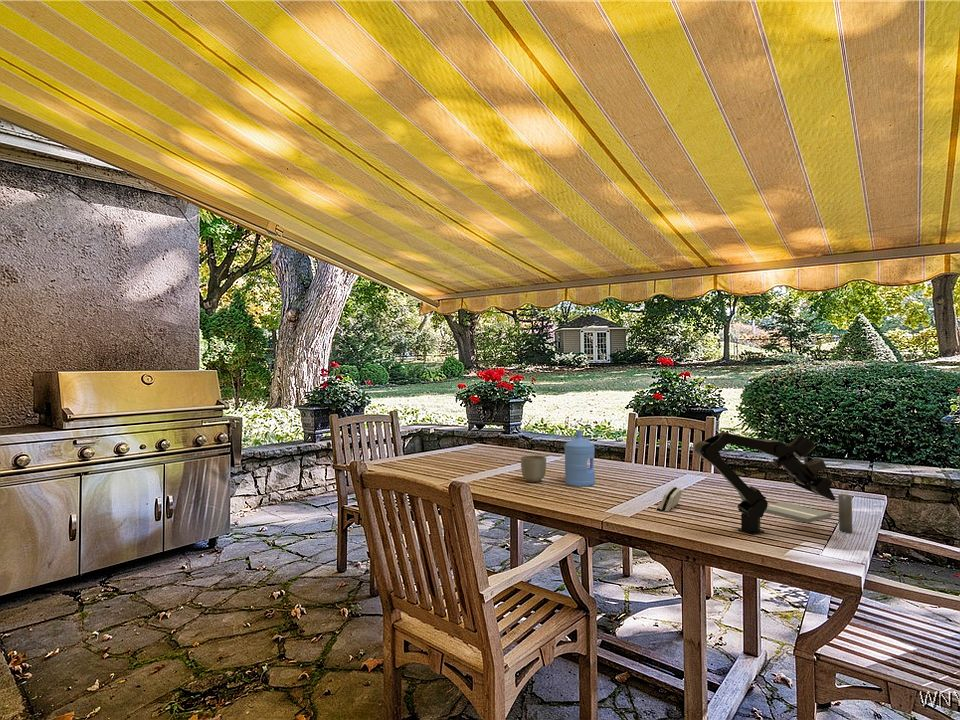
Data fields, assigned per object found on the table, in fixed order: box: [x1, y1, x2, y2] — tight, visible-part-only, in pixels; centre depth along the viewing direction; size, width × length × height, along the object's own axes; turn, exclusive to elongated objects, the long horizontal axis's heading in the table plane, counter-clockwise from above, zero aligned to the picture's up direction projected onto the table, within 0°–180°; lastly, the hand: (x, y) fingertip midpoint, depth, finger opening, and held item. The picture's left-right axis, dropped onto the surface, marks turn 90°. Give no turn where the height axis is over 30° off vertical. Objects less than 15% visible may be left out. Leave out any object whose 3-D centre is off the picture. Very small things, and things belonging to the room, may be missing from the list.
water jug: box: [564, 429, 596, 487], centre depth 274 cm, size 16×16×28 cm
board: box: [764, 501, 832, 524], centre depth 213 cm, size 16×20×2 cm
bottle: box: [837, 492, 854, 534], centre depth 189 cm, size 4×4×14 cm
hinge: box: [655, 486, 683, 512], centre depth 225 cm, size 17×5×10 cm, turn 144°
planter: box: [520, 454, 547, 483], centre depth 281 cm, size 14×14×13 cm
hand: (826, 496), depth 190 cm, fingers open, 9 cm apart
